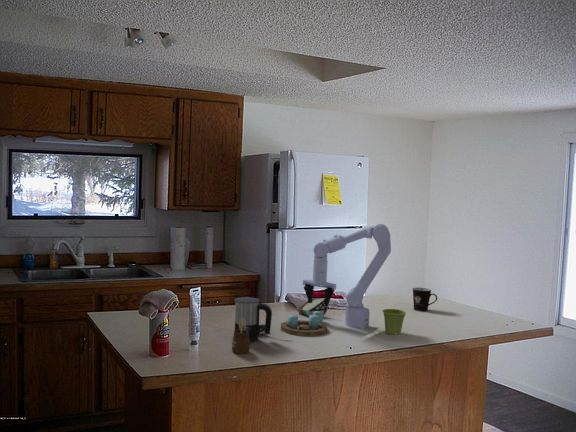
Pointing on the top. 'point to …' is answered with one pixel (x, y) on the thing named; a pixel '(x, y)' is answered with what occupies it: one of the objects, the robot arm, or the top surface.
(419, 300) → the coffee mug
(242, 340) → the brown bottle
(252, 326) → the milk frother
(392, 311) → the plant pot
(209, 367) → the top surface
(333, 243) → the robot arm
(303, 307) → the food container
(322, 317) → the loose bead
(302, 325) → the groove tray
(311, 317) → the seated bead
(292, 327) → the bead
